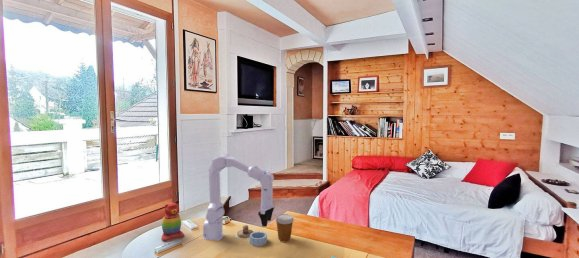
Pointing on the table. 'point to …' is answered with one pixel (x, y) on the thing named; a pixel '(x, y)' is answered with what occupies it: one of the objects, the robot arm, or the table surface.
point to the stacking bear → (171, 223)
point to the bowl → (258, 238)
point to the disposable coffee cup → (284, 227)
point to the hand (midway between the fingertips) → (266, 223)
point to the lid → (244, 232)
